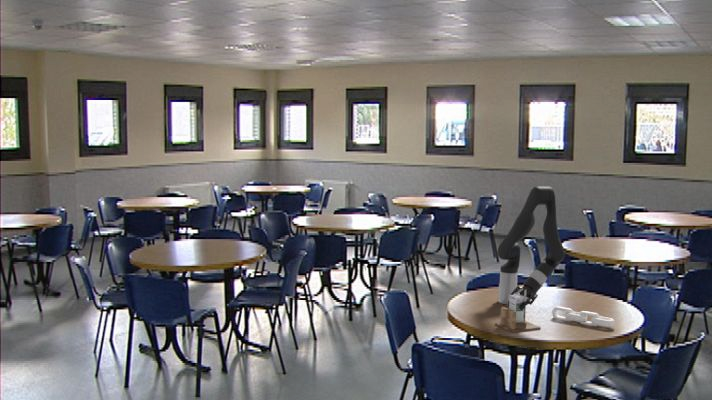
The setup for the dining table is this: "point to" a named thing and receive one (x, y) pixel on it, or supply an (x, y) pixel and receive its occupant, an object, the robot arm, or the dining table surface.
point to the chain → (582, 317)
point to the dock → (514, 322)
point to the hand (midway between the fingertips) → (514, 306)
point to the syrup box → (517, 307)
